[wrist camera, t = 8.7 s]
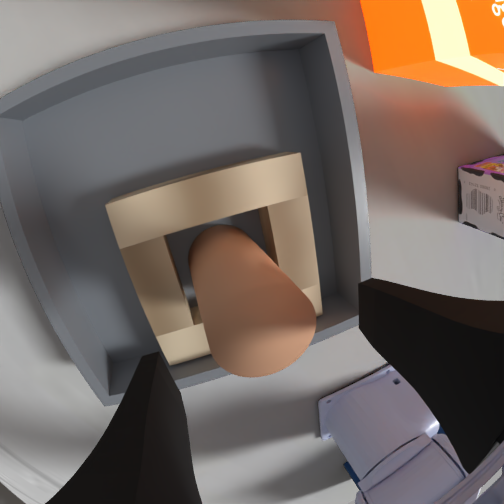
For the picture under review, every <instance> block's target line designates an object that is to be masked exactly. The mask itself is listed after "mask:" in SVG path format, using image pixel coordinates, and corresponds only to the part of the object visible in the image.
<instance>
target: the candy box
mask: <svg viewBox="0 0 504 504" xmlns="http://www.w3.org/2000/svg"><path fill="white" fill-rule="evenodd" d="M458 182H459V222H460V223H462V224H465V225H467V226H471V227H473V228H476V229H479V230H481V231H484V232H486V233H489V234H491V235H494V236H496V237H499V238H501V239H504V154H503V155H499V156H495V157H492V158H488V159H485V160H481V161H478V162H475V163H471V164H467V165H464V166H460V167H458Z"/></svg>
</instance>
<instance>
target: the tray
mask: <svg viewBox="0 0 504 504" xmlns="http://www.w3.org/2000/svg"><path fill="white" fill-rule="evenodd" d="M283 152H297V153H301V158H302V164H303V169H304V175H305V181H306V187H307V194H308V200H309V207H310V213H311V220H312V227H313V234H314V242H315V249H316V257H317V266H318V274H319V283H320V292H321V302H322V312H323V315H320V316H317V317H316V329H315V333H314V336H313V338H312V341H311V343H310V344H309V346H310V345H313V344H315V343H318V342H320V341H323V340H325V339H327V338H330V337H332V336H334V335H337V334H339V333H341V332H344V331H346V330H348V329H350V328H353V327H355V326H357V325H359V300H358V283H360V282H363V281H365V280H368V279H370V278H371V247H370V229H369V215H368V203H367V192H366V182H365V173H364V165H363V157H362V150H361V143H360V136H359V130H358V124H357V118H356V112H355V107H354V102H353V97H352V92H351V87H350V82H349V77H348V73H347V68H346V64H345V60H344V56H343V52H342V48H341V44H340V40H339V37H338V33H337V29H336V26H335V22H334V21H321V20H264V21H247V22H236V23H226V24H218V25H210V26H204V27H197V28H191V29H186V30H180V31H175V32H170V33H166V34H161V35H157V36H153V37H149V38H145V39H141V40H137V41H134V42H130V43H127V44H123V45H120V46H117V47H114V48H110V49H107V50H104V51H102V52H99V53H96V54H93V55H90V56H88V57H85V58H82V59H80V60H77V61H75V62H72V63H70V64H67V65H65V66H63V67H60V68H58V69H56V70H54V71H51V72H49V73H47V74H45V75H43V76H41V77H39V78H37V79H35V80H33V81H31V82H29V83H27V84H25V85H23V86H21V87H19V88H18V89H16V90H14V91H12V92H10V93H9V94H7V95H5V96H4V97H2V98H0V201H1V205H2V208H3V212H4V215H5V218H6V221H7V224H8V227H9V230H10V233H11V236H12V238H13V241H14V244H15V247H16V249H17V252H18V254H19V257H20V259H21V262H22V264H23V267H24V269H25V271H26V274H27V276H28V278H29V281H30V283H31V285H32V287H33V289H34V291H35V293H36V296H37V298H38V300H39V302H40V304H41V306H42V308H43V310H44V312H45V314H46V315H47V317H48V319H49V321H50V323H51V325H52V327H53V328H54V330H55V332H56V334H57V336H58V337H59V339H60V341H61V342H62V344H63V346H64V347H65V349H66V351H67V352H68V354H69V356H70V357H71V359H72V360H73V362H74V364H75V365H76V367H77V368H78V370H79V371H80V373H81V374H82V376H83V377H84V379H85V380H86V382H87V383H88V384H89V386H90V387H91V389H92V390H93V391H94V393H95V394H96V396H97V397H98V398H99V400H100V401H101V402H102V404H103V405H104V406H110V405H115V404H120V403H121V401H122V398H123V396H124V394H125V392H126V390H127V388H128V386H129V383H130V381H131V379H132V377H133V374H134V372H135V370H136V368H137V366H138V363H139V361H140V359H141V357H142V356H144V355H147V354H151V353H155V352H158V351H159V352H160V354H161V356H162V358H163V360H164V362H165V364H166V366H167V368H168V370H169V372H170V374H171V376H172V378H173V380H174V381H175V383H176V385H177V387H178V389H183V388H187V387H190V386H194V385H197V384H201V383H204V382H207V381H211V380H214V379H217V378H221V377H224V376H227V375H230V374H232V373H230V372H227V371H226V370H224V369H223V368H222V367H220V366H219V365H218V364H217V362H216V361H215V360H214V358H213V356H212V354H209V355H205V356H202V357H199V358H195V359H192V360H189V361H185V362H182V363H178V364H174V365H171V366H170V365H169V363H168V361H167V359H166V357H165V355H164V353H163V351H162V349H161V347H160V345H159V343H158V340H157V338H156V336H155V334H154V332H153V330H152V327H151V325H150V323H149V321H148V319H147V316H146V314H145V312H144V309H143V307H142V305H141V302H140V300H139V298H138V295H137V293H136V290H135V288H134V285H133V283H132V280H131V278H130V275H129V273H128V270H127V267H126V265H125V262H124V259H123V257H122V254H121V251H120V248H119V246H118V243H117V240H116V237H115V234H114V231H113V228H112V225H111V222H110V219H109V216H108V213H107V210H106V206H105V205H106V204H107V203H108V202H109V201H110V200H111V199H112V198H115V197H118V196H121V195H124V194H127V193H130V192H133V191H137V190H140V189H143V188H146V187H149V186H153V185H156V184H159V183H162V182H166V181H169V180H173V179H176V178H180V177H183V176H187V175H190V174H194V173H198V172H201V171H205V170H209V169H213V168H217V167H221V166H225V165H229V164H233V163H237V162H241V161H246V160H250V159H255V158H259V157H264V156H268V155H273V154H278V153H283ZM216 225H232V226H235V227H237V228H239V229H241V230H243V231H244V232H245V233H246V234H247V235H248V236H249V237H250V238H251V239H252V240H253V241H254V242H255V243H256V244H257V245H258V246H259V247H260V248H261V249H262V250H263V251H264V252H265V253H266V254H267V251H266V246H265V241H264V236H263V231H262V226H261V221H260V216H259V211H258V208H257V209H253V210H250V211H246V212H242V213H239V214H235V215H232V216H228V217H225V218H221V219H218V220H214V221H211V222H207V223H204V224H200V225H197V226H194V227H190V228H187V229H183V230H180V231H177V232H173V233H170V234H167V235H166V237H167V240H168V243H169V246H170V249H171V252H172V256H173V259H174V262H175V265H176V268H177V271H178V274H179V277H180V280H181V283H182V286H183V289H184V291H185V294H186V297H187V300H188V303H189V306H190V308H193V307H196V306H198V302H197V298H196V294H195V290H194V286H193V282H192V278H191V273H190V269H189V264H188V254H189V250H190V247H191V244H192V243H193V241H194V240H195V238H196V237H197V236H198V235H199V234H200V233H201V232H203V231H204V230H206V229H208V228H210V227H212V226H216Z"/></svg>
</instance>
